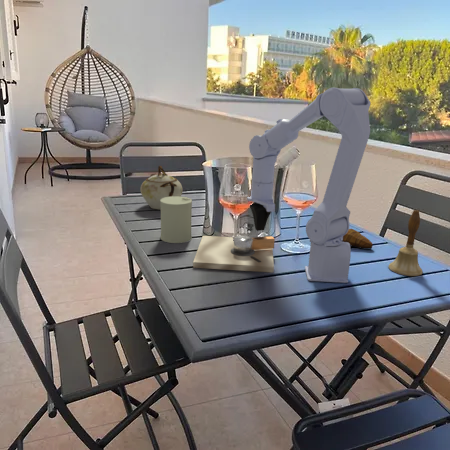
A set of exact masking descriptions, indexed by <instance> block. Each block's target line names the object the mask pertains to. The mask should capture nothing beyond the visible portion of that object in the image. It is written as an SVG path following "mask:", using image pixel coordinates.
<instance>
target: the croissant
mask: <svg viewBox="0 0 450 450" xmlns="http://www.w3.org/2000/svg"><path fill="white" fill-rule="evenodd" d="M342 242H348V243H349V244H350V247H354V248H358V249H364V250H371V249H372V248H373V244H374V243H373V242H371V240H370V239H368V238H367V236H364V235H363V234H361V232H360V231H357V230H355V229H353V228H349V230H348V232H347V233H346V234H345V235H344V236H343V240H342Z"/></svg>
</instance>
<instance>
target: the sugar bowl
mask: <svg viewBox="0 0 450 450" xmlns="http://www.w3.org/2000/svg"><path fill="white" fill-rule="evenodd" d="M157 170H158V173H157V174H155V173H151V174H150V176H149V177H147V178H146V179H145V180H144V181H143V182H142V183H141V185H140V193H141V196H142V198H143V200H144V201H145V202H146V203H147V205H148V206H149V207H150V208H151V209H153V210H160V211H161V204H160V200H161V199H162V198H165V197H170V196H181V197H182V195H183V186H182V183H181V182H180V181H179V180H178V179H177V178H176V177H173V176H171V175H169V174H167V172H165V170H164V168H163V166H162V165H158V167H157Z"/></svg>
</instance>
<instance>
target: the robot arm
mask: <svg viewBox="0 0 450 450" xmlns="http://www.w3.org/2000/svg"><path fill="white" fill-rule="evenodd" d="M371 104H372V103H371V101H370V99H369V98H368V96H367V94H366V92H365V91H364V90H362V89H361V88H358V87H353V88H342V87H340V88H339V87H330V88H327V89H326V90H325V91H323V93H322V92H321V93H320V94H317V96H316V98H315V99H314V100H313V101H312V102H311V103H309V104H308V105H307V106H305V107H304V108H303V109H302V110H301V111H300V112H298V113H296V114H295V116H294V117H292V119H288V118H281V119H278V120H276V124H275V125H273V126H272V127H271V128H270V129H266V130H264V132H263V134H262V135H260V134H257V135H256V134H255V135H253V137H252V138H251V139H250V142H249V144H248V145H249V146H248V148H249V149H248V150H249V153H250V155H251V156H252V157H253V159H252V172H251V173H252V175H251V178H252V179H251V190H250V191H251V196H250V197H249V196H247V197H246V200H247V201H248V202H252V203H253V202H254V203H253V204H252V205H250V206H249V208H250V210H251V214H252V217H253V223H254V229H255V230H256V231H258V232H261V231H265V228H266V226H267V222H268V219H269V217H270V216H271V213H272V212H273V213H274V212H276V203H275V202H274V197H273V196H274V181H275V180H274V179H275V167H276V165H275V164H276V162H277V159H278V156H279V155H280V153H281V151H282V149H284V148H286V146H288V145H290V144H291V143H293V142H294V141H295V140H297V139H298V137H299V134H300V133H299V132H301V131H302V130H304V129H305V128H307V127H308V126H310V125H311V124H313V123H315V122H316V121H318V120H320V119H322V118H323V117H325V118H326V119H327V120H328V121H329V122H330V123H331V124H332V125H333V126H334V127H335V128H336V129H338V132H339V133H340V135H341V139H340V141H339V146H338V149H337V152H336V155H335V159H334V162H333V166H332V169H331V173H330V177H329V179H328V182H327V187H326V188H325V193H324V196H323V199H322V201H321V202H320V203H319V205H318V206H317V207H316V208H315V209H314V211H313V213H312V216H311V217H310V218H309V220H307V222H306V225H305V233H306V236H307V238H308V239H309V242H310V248H309V258H308V265H305V266H304V270H305V275H306V279H307V280H308V281H309V282H310V281H311V282H325V283H342V284H343V283H344V284H348V283H349V280H348V279H349V273H350V272H349V271H350V263H351V256H352V255H351V252H352V251H351V249H352V248H351V246H350V244H349V243H348V242H342V240H343V236H344V235H345V234H346V233H347V232H348V230H349V229H350V215H351V210H350V209H349V208H348V207H347V205H348V202H349V199H350V196H351V193H352V189H353V187H354V184H355V180H356V178H357V175H358V171H359V168H360V166H361V163H362V159H363V156H364V153H365V150H366V147H367V144H368V142H369V137H370V135H371V125H370V116H369V115H370V114H369V111H370V107H371Z"/></svg>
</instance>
